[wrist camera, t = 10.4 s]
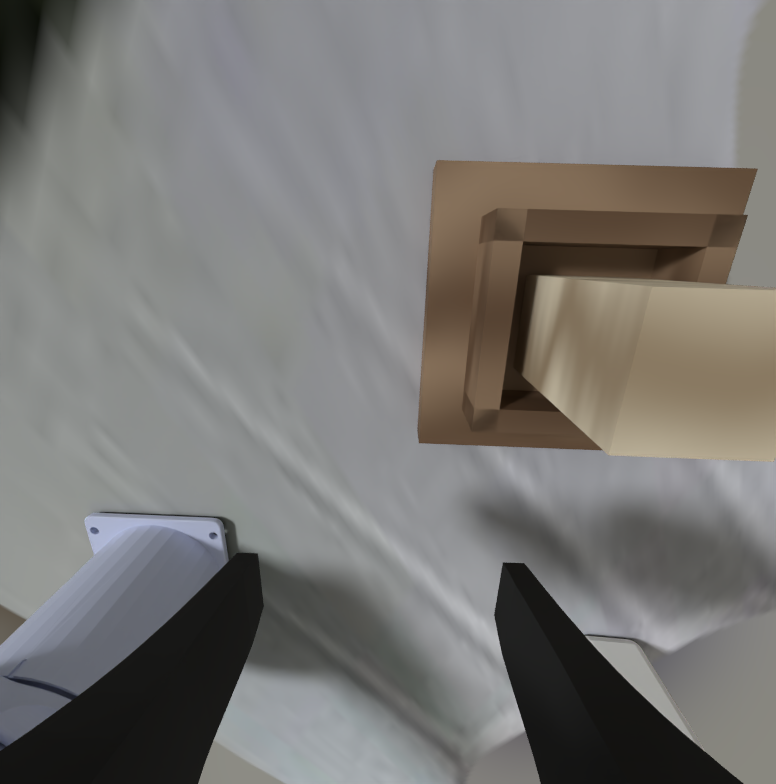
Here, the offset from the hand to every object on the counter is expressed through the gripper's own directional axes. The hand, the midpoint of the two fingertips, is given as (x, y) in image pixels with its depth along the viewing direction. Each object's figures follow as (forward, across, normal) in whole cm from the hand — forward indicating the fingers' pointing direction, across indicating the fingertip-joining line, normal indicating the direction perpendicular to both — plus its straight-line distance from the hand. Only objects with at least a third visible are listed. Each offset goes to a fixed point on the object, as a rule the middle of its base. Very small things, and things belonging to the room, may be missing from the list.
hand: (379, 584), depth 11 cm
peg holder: (+9, -8, -7) cm, 14 cm away
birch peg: (+8, -8, -7) cm, 13 cm away
